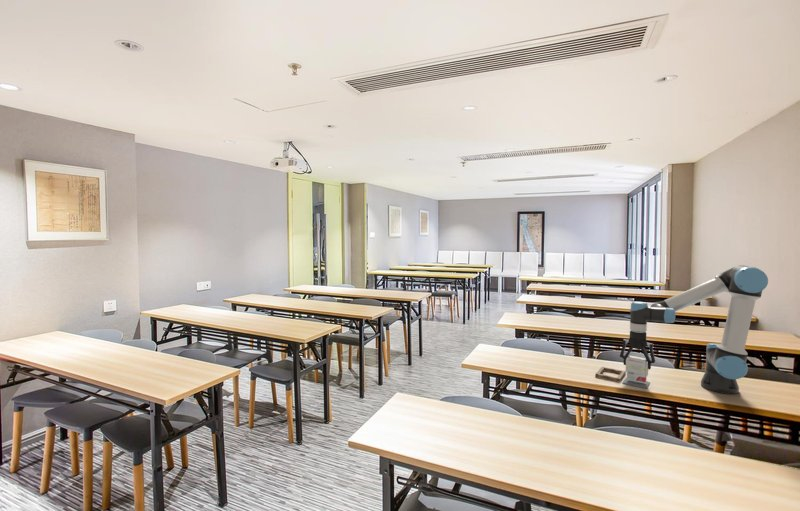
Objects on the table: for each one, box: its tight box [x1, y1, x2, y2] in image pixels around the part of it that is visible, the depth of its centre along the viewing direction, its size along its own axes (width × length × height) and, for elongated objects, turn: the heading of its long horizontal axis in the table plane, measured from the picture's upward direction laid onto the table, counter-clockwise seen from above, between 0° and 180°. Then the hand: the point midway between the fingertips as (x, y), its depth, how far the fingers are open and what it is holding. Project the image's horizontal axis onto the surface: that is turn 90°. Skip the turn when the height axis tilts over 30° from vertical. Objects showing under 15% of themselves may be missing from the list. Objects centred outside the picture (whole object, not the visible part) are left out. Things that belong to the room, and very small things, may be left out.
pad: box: [622, 376, 651, 390], centre depth 204 cm, size 11×11×1 cm
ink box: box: [626, 355, 648, 382], centre depth 204 cm, size 9×5×12 cm, turn 48°
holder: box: [595, 366, 627, 383], centre depth 215 cm, size 12×16×2 cm
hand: (636, 373), depth 204 cm, fingers closed on ink box, 8 cm apart
